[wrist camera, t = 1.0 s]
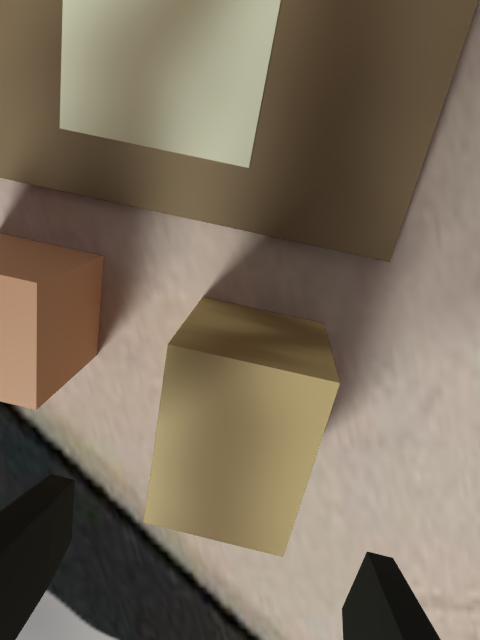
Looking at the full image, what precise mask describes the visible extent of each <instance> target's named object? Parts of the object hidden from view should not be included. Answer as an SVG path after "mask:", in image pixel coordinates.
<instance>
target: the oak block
mask: <svg viewBox="0 0 480 640" xmlns="http://www.w3.org/2000/svg"><path fill="white" fill-rule="evenodd" d="M339 385H340V381H339V377H338V374H337V370H336V366H335V362H334V359H333V355H332V351H331V347H330V344H329V340H328V336H327V332H326V329H325V325H324V323H320V322H315V321H311V320H306V319H302V318H297V317H293V316H288V315H283V314H279V313H274V312H270V311H265V310H261V309H256V308H252V307H247V306H243V305H238V304H233V303H229V302H224V301H220V300H215V299H211V298H206V297H202V299H201V300H200V301H199V303H198V304H197V306H196V307H195V308H194V310H193V311H192V312H191V314H190V315H189V316H188V318H187V319H186V320H185V322H184V323H183V324H182V326H181V327H180V329H179V330H178V331H177V333H176V334H175V335H174V337H173V338H172V339H171V341H170V342H169V343H168V348H167V355H166V362H165V370H164V377H163V384H162V392H161V399H160V406H159V414H158V421H157V428H156V436H155V443H154V451H153V458H152V465H151V473H150V480H149V487H148V495H147V502H146V509H145V517H144V523H148V524H152V525H156V526H160V527H164V528H168V529H172V530H176V531H180V532H184V533H188V534H192V535H197V536H201V537H205V538H209V539H213V540H217V541H221V542H225V543H229V544H233V545H237V546H241V547H245V548H249V549H253V550H257V551H261V552H265V553H269V554H273V555H277V556H281V557H283V556H284V553H285V550H286V547H287V544H288V541H289V538H290V535H291V532H292V529H293V526H294V523H295V519H296V516H297V513H298V510H299V507H300V504H301V501H302V498H303V495H304V492H305V489H306V486H307V483H308V480H309V477H310V474H311V470H312V467H313V464H314V461H315V458H316V455H317V452H318V449H319V446H320V443H321V440H322V437H323V434H324V431H325V428H326V425H327V422H328V418H329V415H330V412H331V409H332V406H333V403H334V400H335V397H336V394H337V391H338V388H339Z"/></svg>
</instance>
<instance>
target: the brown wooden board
mask: <svg viewBox="0 0 480 640" xmlns="http://www.w3.org/2000/svg"><path fill="white" fill-rule="evenodd" d="M478 2H479V0H0V178H4V179H9V180H14V181H18V182H23V183H27V184H32V185H37V186H41V187H46V188H51V189H55V190H60V191H64V192H69V193H74V194H78V195H83V196H87V197H92V198H97V199H101V200H106V201H111V202H115V203H120V204H124V205H129V206H134V207H138V208H143V209H147V210H152V211H157V212H161V213H166V214H171V215H175V216H180V217H184V218H189V219H194V220H198V221H203V222H207V223H212V224H217V225H221V226H226V227H231V228H235V229H240V230H244V231H249V232H254V233H258V234H263V235H267V236H272V237H277V238H281V239H286V240H291V241H295V242H300V243H304V244H309V245H314V246H318V247H323V248H327V249H332V250H337V251H341V252H346V253H351V254H355V255H360V256H364V257H369V258H374V259H378V260H383V261H387V262H390V259H391V256H392V254H393V251H394V248H395V245H396V242H397V239H398V236H399V233H400V230H401V227H402V224H403V221H404V218H405V215H406V213H407V210H408V207H409V204H410V201H411V198H412V195H413V192H414V189H415V186H416V183H417V180H418V177H419V174H420V172H421V169H422V166H423V163H424V160H425V157H426V154H427V151H428V148H429V145H430V142H431V139H432V136H433V133H434V131H435V128H436V125H437V122H438V119H439V116H440V113H441V110H442V107H443V104H444V101H445V98H446V95H447V92H448V90H449V87H450V84H451V81H452V78H453V75H454V72H455V69H456V66H457V63H458V60H459V57H460V54H461V51H462V48H463V46H464V43H465V40H466V37H467V34H468V31H469V28H470V25H471V22H472V19H473V16H474V13H475V10H476V7H477V5H478Z"/></svg>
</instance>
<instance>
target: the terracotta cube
mask: <svg viewBox="0 0 480 640" xmlns="http://www.w3.org/2000/svg"><path fill="white" fill-rule="evenodd" d="M103 264H104V256H101V255H96V254H92V253H87V252H83V251H78V250H74V249H69V248H65V247H60V246H56V245H51V244H47V243H42V242H38V241H33V240H29V239H24V238H20V237H15V236H11V235H6V234H2V233H0V401H1V402H6V403H10V404H14V405H18V406H22V407H26V408H30V409H35V410H37V409H38V408H39V407H40V406H41V405H42V404H43V403H44V402H46V401H47V400H48V399H49V398H50V397H51V396H52V395H53V394H54V393H56V392H57V391H58V390H59V389H60V388H61V387H62V386H63V385H64V384H65V383H67V382H68V381H69V380H70V379H71V378H72V377H73V376H74V375H75V374H77V373H78V372H79V371H80V370H81V369H82V368H83V367H84V366H85V365H86V364H88V363H89V362H90V361H91V360H92V359H93V358H94V357H95V356H96V355H97V351H98V337H99V322H100V308H101V293H102V279H103Z"/></svg>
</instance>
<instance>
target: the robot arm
mask: <svg viewBox="0 0 480 640" xmlns="http://www.w3.org/2000/svg"><path fill="white" fill-rule="evenodd" d="M74 482H75V480H73V479H68V478H64V477H60V476H56V475H52V474H50V475H48V476H47V477H45V478H44V479H43V480H41V481H40V482H38V483H37V484H36V485H34V486H33V487H32V488H30V489H29V490H28V491H26V492H25V493H24V494H22V495H21V496H20V497H18V498H17V499H16V500H14V501H13V502H12V503H10V504H9V505H8V506H6V507H5V508H3V509H2V510H1V511H0V640H15V639H16V638H17V636H18V634H19V633H20V631H21V630H22V628H23V627H24V625H25V623H26V622H27V620H28V619H29V617H30V615H31V614H32V612H33V611H34V609H35V607H36V606H37V604H38V602H39V601H40V599H41V598H42V596H43V594H44V593H45V591H46V590H47V588H48V586H49V584H50V582H51V580H52V578H53V576H54V574H55V573H56V571H57V569H58V567H59V565H60V563H61V561H62V559H63V557H64V555H65V552H66V550H67V548H68V546H69V544H70V542H71V538H72V520H73V501H74ZM342 617H343V639H344V640H440V638H439V636H438V635H437V633H436V631H435V629H434V628H433V626H432V624H431V623H430V621H429V619H428V618H427V616H426V614H425V612H424V611H423V609H422V607H421V606H420V604H419V602H418V600H417V599H416V597H415V595H414V593H413V592H412V590H411V588H410V586H409V585H408V583H407V581H406V580H405V578H404V576H403V574H402V573H401V571H400V569H399V568H398V566H397V564H396V562H395V561H394V559H393V558H391V557H387V556H383V555H379V554H375V553H370V552H367V553H366V555H365V558H364V560H363V562H362V565H361V567H360V569H359V571H358V574H357V576H356V578H355V580H354V583H353V585H352V587H351V590H350V592H349V594H348V596H347V599H346V601H345V603H344V605H343V608H342Z"/></svg>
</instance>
